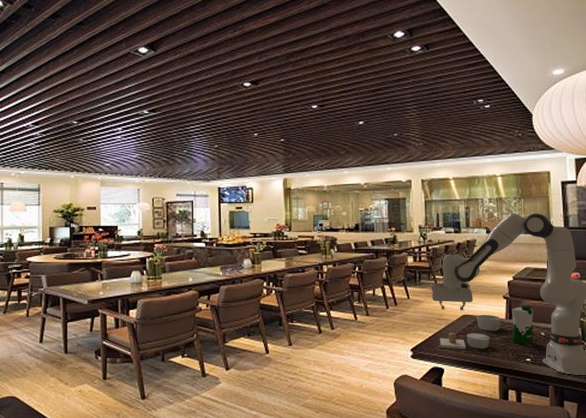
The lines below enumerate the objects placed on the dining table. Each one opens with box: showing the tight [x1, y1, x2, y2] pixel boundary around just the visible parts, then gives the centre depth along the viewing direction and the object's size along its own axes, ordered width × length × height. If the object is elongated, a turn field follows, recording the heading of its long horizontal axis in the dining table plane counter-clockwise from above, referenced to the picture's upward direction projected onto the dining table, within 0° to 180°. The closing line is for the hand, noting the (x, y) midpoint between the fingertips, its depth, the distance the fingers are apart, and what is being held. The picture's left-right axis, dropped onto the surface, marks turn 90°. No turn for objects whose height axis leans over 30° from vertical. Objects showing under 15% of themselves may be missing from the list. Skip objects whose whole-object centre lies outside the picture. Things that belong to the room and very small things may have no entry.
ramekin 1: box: [476, 314, 502, 332], centre depth 256 cm, size 13×13×7 cm
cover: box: [439, 332, 467, 349], centre depth 225 cm, size 12×12×5 cm
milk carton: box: [511, 305, 534, 346], centre depth 229 cm, size 9×9×20 cm
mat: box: [439, 341, 467, 350], centre depth 225 cm, size 13×12×1 cm
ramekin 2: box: [466, 332, 491, 350], centre depth 223 cm, size 11×11×5 cm
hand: (452, 309), depth 225 cm, fingers open, 8 cm apart
